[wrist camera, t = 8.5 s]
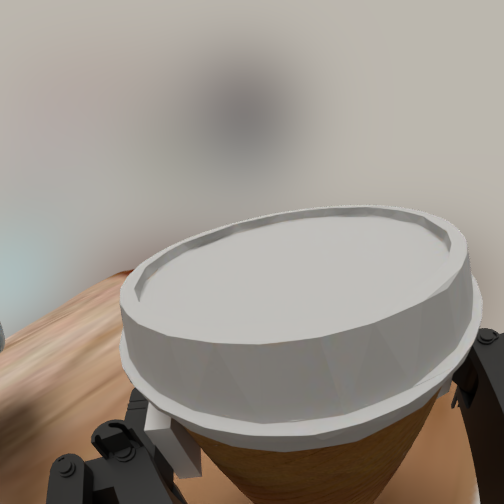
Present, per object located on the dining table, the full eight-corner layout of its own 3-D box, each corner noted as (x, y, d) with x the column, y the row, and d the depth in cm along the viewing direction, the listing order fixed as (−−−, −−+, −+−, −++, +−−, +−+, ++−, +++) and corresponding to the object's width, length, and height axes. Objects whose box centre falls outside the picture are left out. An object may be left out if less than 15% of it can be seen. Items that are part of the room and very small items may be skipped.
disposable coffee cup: (364, 392, 16) (357, 194, 12) (447, 502, 7) (559, 243, 3) (214, 438, 15) (139, 242, 11) (238, 581, 6) (21, 416, 2)
